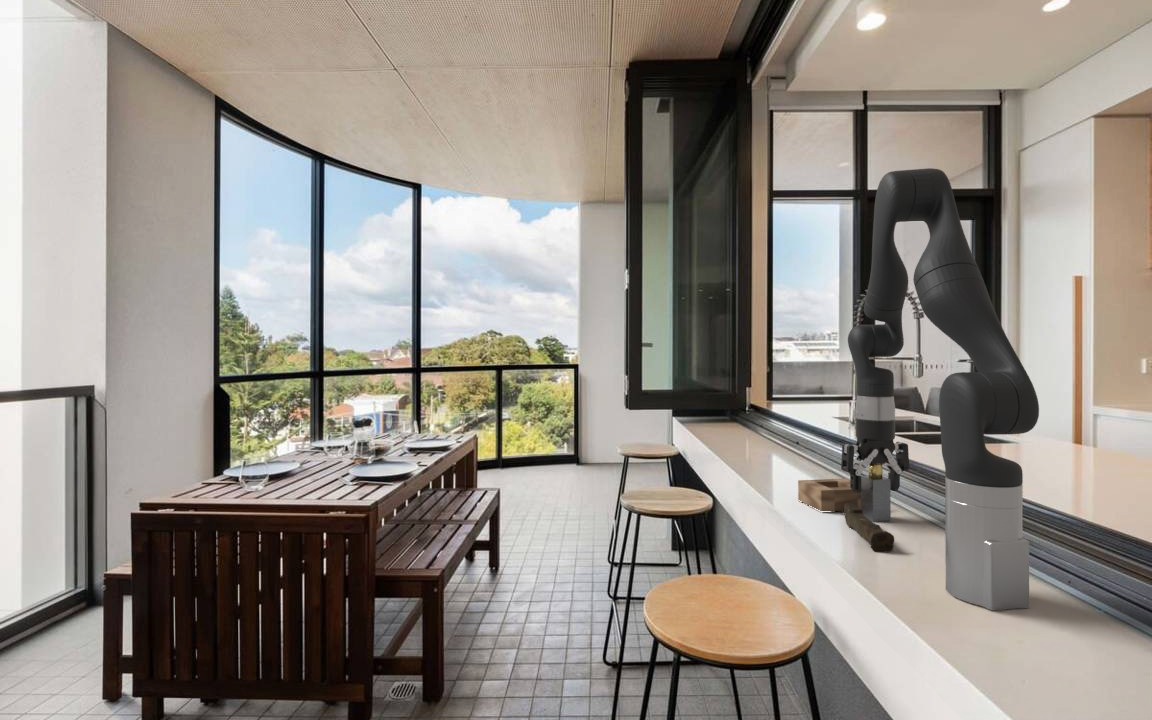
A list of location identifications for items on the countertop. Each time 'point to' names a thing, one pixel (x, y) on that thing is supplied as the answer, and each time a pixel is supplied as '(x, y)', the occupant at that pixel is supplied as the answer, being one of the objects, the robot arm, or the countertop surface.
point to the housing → (828, 494)
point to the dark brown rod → (868, 529)
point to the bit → (876, 495)
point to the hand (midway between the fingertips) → (875, 491)
